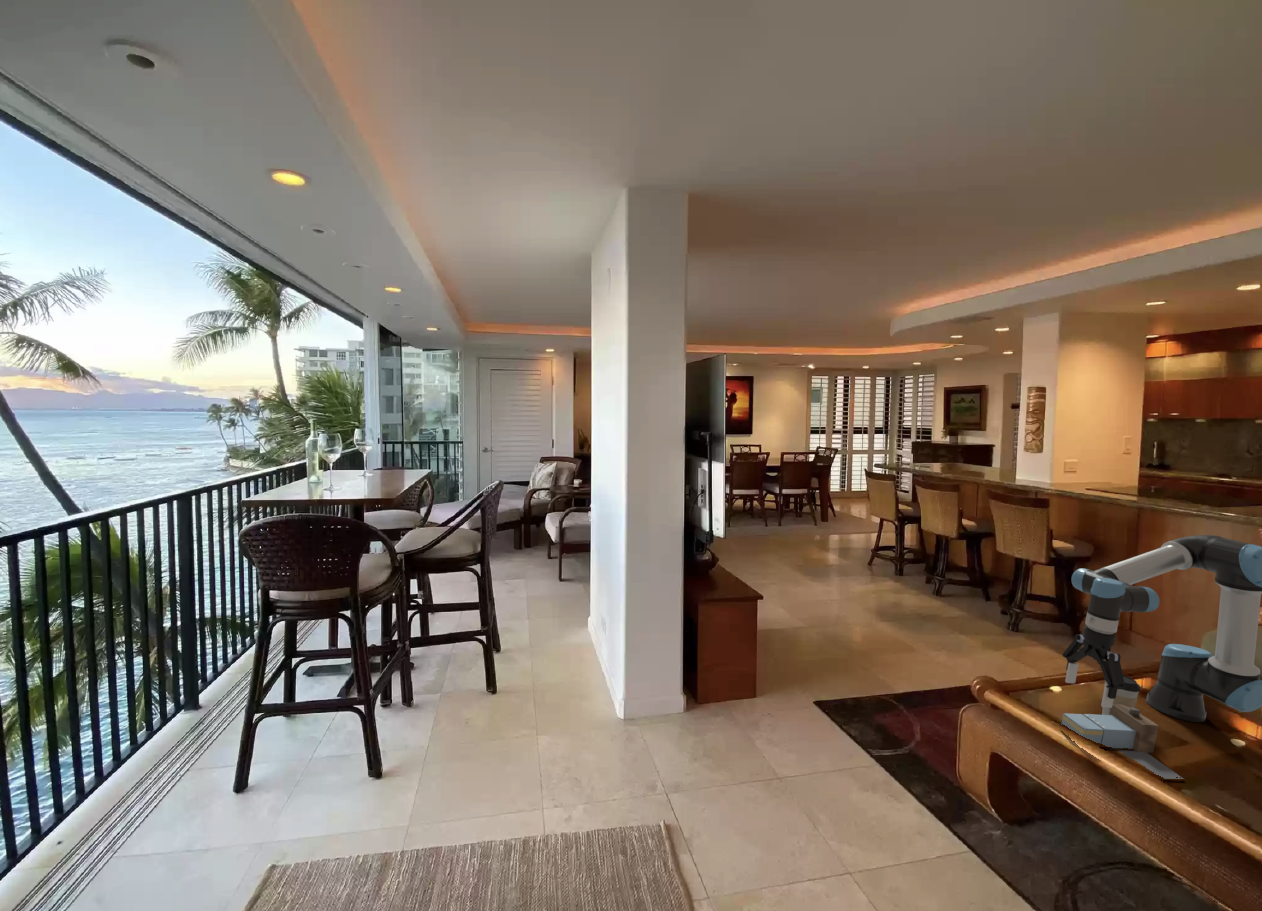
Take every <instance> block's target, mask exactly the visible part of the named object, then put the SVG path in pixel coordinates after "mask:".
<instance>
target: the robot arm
mask: <svg viewBox="0 0 1262 911" xmlns="http://www.w3.org/2000/svg"><path fill="white" fill-rule="evenodd" d="M1191 568H1193V569H1201V570H1205V571H1208V572H1212V573H1214V583H1216V584H1217V585H1218V586H1219V587H1220V596H1219V605H1218V606H1219V608H1218V609H1219V610H1218V618H1217V619H1218V620H1217V629H1216V630H1217V631H1216V642H1215V653H1214V655H1213V654H1212V653H1211V652H1210V651H1208V650H1206V649H1204V648H1200V647H1197V646H1192V645H1188V644H1186V645H1185V644H1180V643H1179V644H1178V643H1169V644H1167V645H1165V646H1164V648H1163V651H1162V654H1161V660H1160V665H1159V670H1158V675H1157V680H1156V682H1155V684H1154V685H1153V686H1152V688H1151V689H1150V691H1148V692H1147V695H1146V698H1145V701H1146V703H1147V704H1148V705H1149V706H1151V707H1152V708H1153V709H1155V710H1157V711H1158V712H1160V713H1163V714H1165V715H1168V716H1170V717H1173V718H1176V719H1179V720H1183V721H1185V722H1186V721H1188V722H1193V723H1204V722H1205V721H1206V718H1207V710H1206V709H1205V701H1204V695H1206V696H1207V697H1209V698H1211V699H1213V700H1216V701H1218V702H1220V703H1221V704H1224V705H1225V706H1227V707H1230V708H1233V709H1235V710H1236V711H1238V712H1239V711H1240V712H1243V713H1250V712H1253V711H1256V710H1258V709H1260V708H1261V707H1262V679H1261V669H1260V668H1259V667H1258V666H1256V665H1255V659H1256V658H1255V657H1256V648H1257V647H1256V646H1257V637H1258V627H1259V620H1260V618H1259V617H1260V607H1261V597H1262V546H1260V545H1259V544H1255V543H1254V544H1252V543H1247V542H1244V541H1240V540H1235V539H1231V538H1226V537H1222V536H1218V535H1214V534H1213V535H1212V534H1197V535H1189V536H1184V537H1180V538H1175V539H1172V540H1169V541H1166V542H1164V543H1163V544H1162V545H1161V546H1160V547H1158V548H1156V549H1154V550H1153V549H1152V550H1151V551H1147V552H1144V553H1141V554H1139V555H1135V556H1133V557H1130V558H1127V559H1125V560H1122V561H1118V562H1116V563H1113V564H1110V565H1108V566H1103V567H1101V568H1098V569H1096V570H1091V569H1089V568H1084V567H1083V568H1078V569H1076V570H1075V571H1074V572H1073V573H1072V575H1071V584H1072V587H1074V588H1075V589H1076V590H1079V591H1080V592H1083V593H1085V594H1087V595H1090V596H1089V600H1088V601H1089V602H1088V608H1087V610H1086V611H1087V612H1086V616H1085V622H1084V623H1085V625H1084V627H1083V630H1082V634H1075V636H1074V639H1073V640H1072V641H1071V643H1070V644H1069V645H1068V647H1067V648H1066V649H1065V651H1064V652H1063V653H1062V657H1063V658H1065V659H1066V661H1067V664H1066V667H1065V669H1066V674H1065V675H1066V676H1065V679H1064V680H1065V681H1064V682H1065V683H1067V684H1076V681H1077V675H1078V669H1079V663H1078V662H1079V661H1081V660H1083V659H1084V658H1086V657H1090V658H1092V659H1093V660H1095V661H1096V663H1097V664H1098V665H1099V666H1100V669H1101V671H1102V674H1103V678H1104V680H1105V679H1106V682H1107V684H1108V686H1106V685H1105V684H1104V686H1105V688H1104V687H1103V693H1102V699H1101V704H1100V706H1101V707H1102V708H1103V707H1107V708H1112V705H1113V700H1114V699H1115V698H1116V694H1117V690H1118V689H1122V690H1125V683H1124V679H1123V675H1124V674H1123V670H1122V665H1121V658H1122V657H1121V655H1120V653H1115V652H1112V650H1111V648H1112V647H1113V646H1114V645H1115V641H1116V637H1117V634H1116V633H1117V632H1118V626H1119V623H1120V622H1119V621H1120V616H1121V613H1122V612H1128V613H1129V612H1131V613H1146V612H1147V613H1148V612H1149V613H1150V612H1153V611H1156V610H1157V608H1158V607H1159V605H1160V598H1159V597H1160V596H1159V595H1158V593H1157V592H1156V591H1155V590H1154V589H1153V588H1151V587H1148V586H1142V585H1137V586H1136V585H1135V584H1137V583H1140V582H1142V581H1146V580H1148V579H1151V578H1155V577H1157V576H1160V575H1163V574H1167V573H1169V572H1171V571H1175V570H1180V571H1182V570H1183V571H1185V570H1188V569H1191ZM1112 682H1113V684H1112ZM1119 684H1120V685H1119Z"/></svg>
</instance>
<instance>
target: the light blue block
mask: <svg viewBox="0 0 1262 911" xmlns="http://www.w3.org/2000/svg"><path fill="white" fill-rule="evenodd" d="M1062 724H1063V725H1065V726H1067V727H1068V728H1069V729H1071V730H1073V731H1075V732H1076V733H1078V734H1079V735H1081V736H1083V737H1085V738H1087V739H1090V740H1092V741H1094V742H1096V743H1100V744H1101V739H1102V735H1103V729H1102V728H1100V727H1099V726H1098V725H1096V724H1095V723H1093V722H1092V721H1091V720H1089V719H1088V718H1086V717H1085V716H1084V715H1083V713H1068V712H1066V713H1063V715H1062V721H1061V725H1062Z"/></svg>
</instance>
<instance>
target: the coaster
mask: <svg viewBox="0 0 1262 911" xmlns="http://www.w3.org/2000/svg"><path fill="white" fill-rule="evenodd" d="M1117 750H1118V749H1117ZM1118 751H1120V752H1123V754H1124V756H1127V757H1129V758H1131V759H1133V760H1135V761H1137V762H1139V763H1140V764H1141V765H1143V766H1145V767H1146V768H1147V769H1149V770H1150V771H1152V772H1154V774H1156V775H1159V776H1161V777H1163V778H1164V779H1184V778H1183V777H1182V776H1180V775H1179V774H1178V773H1177V772H1175V771H1174V770H1172V769H1171V768H1169V767H1168V766H1166V765H1165V764H1163V763H1162V762H1160V761H1159V760H1158V759H1156V758H1155V757H1153V756H1152V755H1151V754H1149V753H1146V752H1140V751H1135V750H1118ZM1176 777H1178V778H1176ZM1180 777H1181V778H1180Z"/></svg>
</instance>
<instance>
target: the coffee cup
mask: <svg viewBox="0 0 1262 911" xmlns="http://www.w3.org/2000/svg"><path fill="white" fill-rule="evenodd" d="M1123 679H1124V683H1125V690H1122V689H1118V690H1117V694H1116V698H1115V699H1114V700H1113V704H1121V705H1127V706H1129V707H1130V708H1131V707H1132V708H1136V704H1137V701H1138V699H1139V696H1138V695H1139V693H1140V692H1141V685H1140V684H1139V683H1138V682H1137V681H1136V680H1135V679H1134V678H1131V677H1130V676H1128V675H1127V676H1126V675H1124V674H1123ZM1112 684H1113V682H1112ZM1105 685H1106V686H1108V684H1107V682H1106V679H1105V678H1104V686H1103V689H1104V688H1105ZM1119 685H1120V684H1119ZM1101 712H1102V713H1101V715H1109V712H1110V708H1107V707H1102V711H1101Z"/></svg>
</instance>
